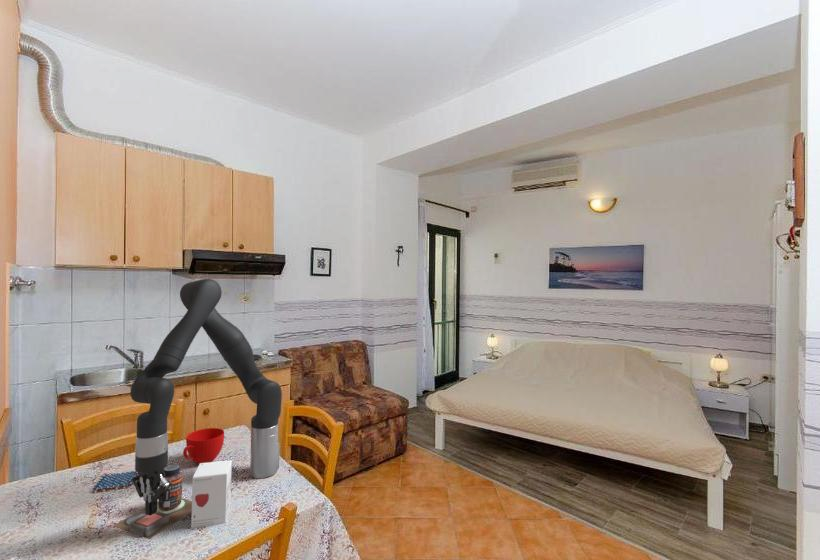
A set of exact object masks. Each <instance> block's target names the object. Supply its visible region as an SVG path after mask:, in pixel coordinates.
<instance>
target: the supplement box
mask: <svg viewBox="0 0 820 560" xmlns="http://www.w3.org/2000/svg"><path fill="white" fill-rule="evenodd" d="M232 463H233V460H230V459H229V460H222V461H219V460H217V461H212V462H209V463H200V464H198V466H197V468H196V469H195V472H194V474H193V476H192V488H191V489H192V490H191V491H192V492H191V494H192V495H191V501H192V513H191V519H190V520H191V523H190V525H191V526H190V528H191V529H193V528H199V527H200V528H201V527H208V526H215V525H221V524H226V523H227V520H228V516H229V514H230V509H231V495H232V492H231V491H232V467H233V466H232V465H233V464H232Z"/></svg>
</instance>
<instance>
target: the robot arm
mask: <svg viewBox="0 0 820 560" xmlns="http://www.w3.org/2000/svg"><path fill="white" fill-rule="evenodd" d="M222 296H223V295H222V287H221V285H220V284H219V283H218V282H217V281H216V280H214V279H211V278H203V279H198V280H195V281H190V282H186V283H185V284H183V285H182V286H181V288H180V291H179V297H180V301H181V302H182V305H183V306H184V307H185V308H186V310H187V311H186V312H185V314H184V315H183V317H182V318H181V319H180V321H178V323H177V324H176V325H175V326H174V327H173V328H172V329H171V330H170V332H169V333H167V335H166V336H165V338H164V339H163V341H162V342H161V345H160V346H159V348H158V350H156V354H155V356H154V358H153V359H152V360H151V361H150V362H149V363H148V364H147V365H146V367H144V369H143V370H142V371H141V372H140V373H139V374H138V376H137V377H136V378H135V380H134V381H133V382H132V384H131V387H130V391H129V392H130V397H131V400H133V402H136V403H138V404H147V405H149V409H148V410H147V411H145V412H142V413H140V414H139V415H138V416H137V419H136V438H135V447H134V448H135V449H134V451H135V452H134V471H136V472H137V473H138V475H137V476H135V477H133V478H132V482H133V484H132V485H134V489H135V491H136V492H137V495H138V496H139V498H140V499H141V498H143V501H144V502H145V505H144V507H145V508H144V509H145V511H146V514H147V515H150V516H151V515H152V514H154V513H156V512H157V502H158V501H159V499H160V498H162V497H164V495H165V494H166V492H167V491H168V489H169V488H170V486H171V485H172V482H171V481H169V482H167V481H166V480H165V472H164V468H165V467H167V465H168V462H169V437H168V415H169V412H170V409H171V405H172V402H173V400H174V399H173V398H174V397H175V386H174V383H173V382H172V381H171V379H169V378H166V377H165V376H166V375H167V374H171V373H175V372H177V371H178V370H179V368H180V367H181V365H182V362H183V361H184V359H185V357H186V355H187V353H188V351H189V348H190V346H191V345H192V343H193V341H194V339H195V338H196V336H197V334H198V333H199V332H200V329H201V328H202V329H203V330H204V332H205V333H206V335H207V336H208V337H209V339H210V341H211V342H213V344H214V346H215V348H216V350H217V351H218V352H219V353H220V355H221V358H223V360H224V361H225V362H226V364H227V365H228V366H229V368H230V369H231V370H232V371H233V373H234V374H235V375H236V377H237V378H238V379H239V381H240V383H241V385H242V387H243V389H244V391H245V394H246V395H247V397H248V398H249V400H250V401H251V402H252V403H254V404H256V413H255V415H253V416H252V417H251V420H250V463H249V470H250V471H249V475H250V477H252V478H255V479H266V478H269V477H272V476H274V475H275V474H276V473H277V472H278V470H279V469H280V442H279V419H280V417H281V412H282V399H283V398H282V397H283V392H282V388H281V385H280V384H279V383H278V382H276V381H274V380H271V379H268V378H267V377H266V376H265V375H264V373H262V372H261V370H260V369H259V367H258V365H257V364H256V361H255V357H254V352H253V349H252V348H253V347H252V346H251V344H250V342H249V340H248V339H247V338H246V336H245V334H244V333H243V331H241V329H239V328H238V327H237V326H236V325H234V324H233V323H232V322H230V321H229V320H227V319H226V318H224V317H223V316H222V315H221V314H220V313H219V311H217V309H216V307H217V306H218V303H219V302H220V300H221V298H222Z"/></svg>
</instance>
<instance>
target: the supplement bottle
mask: <svg viewBox="0 0 820 560" xmlns="http://www.w3.org/2000/svg"><path fill="white" fill-rule="evenodd" d="M164 472H165V480H166V481H167V482H169V481H171V482H172V485H171V486H170V488H169V489H168V491H167V492H166V494H165V495H164V497H162V498H160V499H158V501H159V503H158V507H159V509H161V510H170V509H173V508H176V507H177V506H179V505H180V504H181V500H182V498H183V497H182V496H183V473H182V472H181V471H180V466H179V464H170V465H168V466H167V465H166V467H165V468H164Z"/></svg>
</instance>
